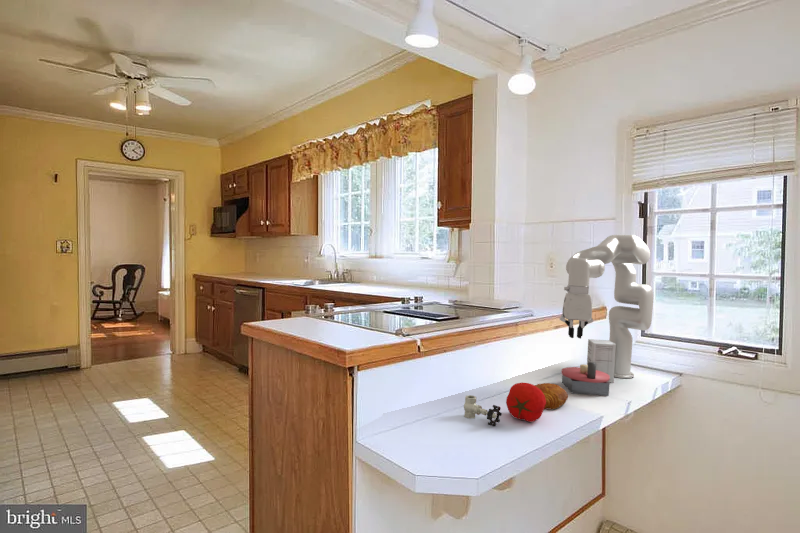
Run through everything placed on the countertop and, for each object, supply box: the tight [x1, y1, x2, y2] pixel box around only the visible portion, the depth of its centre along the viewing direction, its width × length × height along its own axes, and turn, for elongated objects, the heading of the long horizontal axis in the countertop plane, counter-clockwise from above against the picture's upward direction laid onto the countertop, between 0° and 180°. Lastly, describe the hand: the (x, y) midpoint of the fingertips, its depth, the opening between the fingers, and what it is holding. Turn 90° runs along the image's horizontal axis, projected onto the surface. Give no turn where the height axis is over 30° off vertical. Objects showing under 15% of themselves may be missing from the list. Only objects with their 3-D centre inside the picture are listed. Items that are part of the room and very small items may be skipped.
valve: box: [463, 395, 503, 427], centre depth 144 cm, size 7×7×12 cm
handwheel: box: [561, 362, 610, 383], centre depth 182 cm, size 18×18×7 cm
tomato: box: [505, 382, 546, 423], centre depth 147 cm, size 13×13×13 cm
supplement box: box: [586, 338, 616, 384], centre depth 198 cm, size 10×9×17 cm
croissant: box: [534, 382, 569, 410], centre depth 164 cm, size 14×16×8 cm
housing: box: [561, 374, 610, 397], centre depth 182 cm, size 14×14×5 cm
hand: (575, 337), depth 175 cm, fingers closed
